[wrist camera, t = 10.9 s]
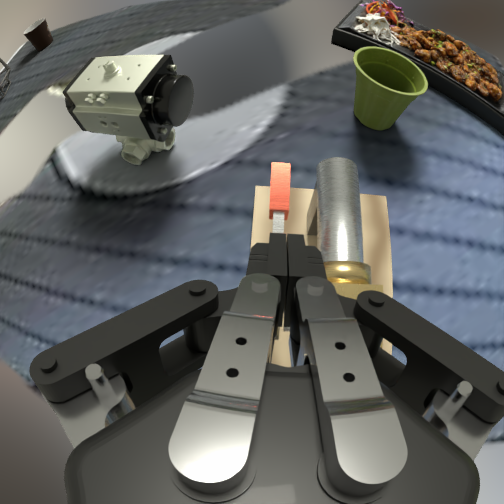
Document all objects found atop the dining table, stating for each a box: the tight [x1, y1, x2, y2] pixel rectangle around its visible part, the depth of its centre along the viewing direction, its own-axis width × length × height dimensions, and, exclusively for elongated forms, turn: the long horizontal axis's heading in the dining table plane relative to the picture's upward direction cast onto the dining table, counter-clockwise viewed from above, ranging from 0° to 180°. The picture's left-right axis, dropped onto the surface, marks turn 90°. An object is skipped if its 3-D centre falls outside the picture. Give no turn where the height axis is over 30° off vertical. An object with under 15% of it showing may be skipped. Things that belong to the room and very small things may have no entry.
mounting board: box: [251, 186, 393, 367], centre depth 35 cm, size 18×30×2 cm, turn 176°
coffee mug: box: [23, 18, 53, 51], centre depth 59 cm, size 12×9×10 cm
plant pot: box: [353, 47, 428, 130], centre depth 39 cm, size 12×12×11 cm
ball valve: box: [63, 55, 194, 165], centre depth 36 cm, size 18×8×18 cm, turn 72°
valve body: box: [283, 157, 383, 348], centre depth 29 cm, size 8×26×12 cm, turn 176°
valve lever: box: [269, 162, 290, 340], centre depth 28 cm, size 2×3×16 cm
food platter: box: [331, 0, 504, 135], centre depth 46 cm, size 45×25×10 cm, turn 61°
